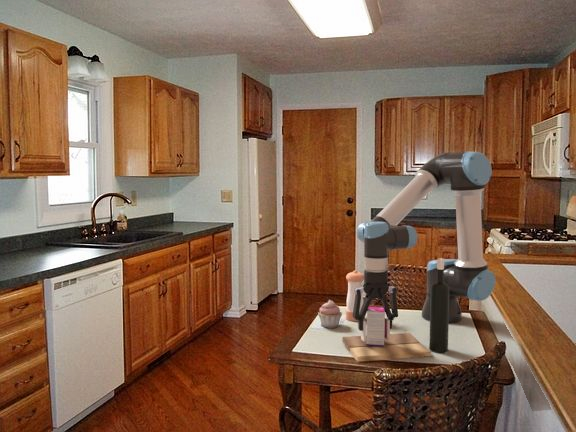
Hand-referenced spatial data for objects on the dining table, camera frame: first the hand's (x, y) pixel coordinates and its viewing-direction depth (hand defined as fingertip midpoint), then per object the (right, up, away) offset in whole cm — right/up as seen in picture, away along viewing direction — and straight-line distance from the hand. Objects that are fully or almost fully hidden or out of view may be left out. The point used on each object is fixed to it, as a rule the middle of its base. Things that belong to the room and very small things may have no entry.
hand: (375, 339), depth 168 cm
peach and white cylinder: (-2, 0, +35) cm, 35 cm away
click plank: (+2, -3, +4) cm, 5 cm away
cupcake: (-13, -1, +26) cm, 29 cm away
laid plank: (+4, -4, -5) cm, 7 cm away
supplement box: (0, -2, 0) cm, 2 cm away
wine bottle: (+20, -4, -1) cm, 21 cm away
